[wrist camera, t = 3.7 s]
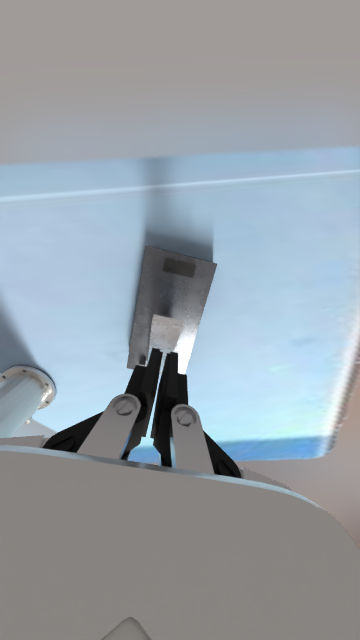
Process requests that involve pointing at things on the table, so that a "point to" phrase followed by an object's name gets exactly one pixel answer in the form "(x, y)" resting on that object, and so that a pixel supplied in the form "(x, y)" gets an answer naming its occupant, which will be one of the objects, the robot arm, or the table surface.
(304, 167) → the table surface
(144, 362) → the block
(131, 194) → the table surface
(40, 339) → the table surface
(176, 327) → the strap
